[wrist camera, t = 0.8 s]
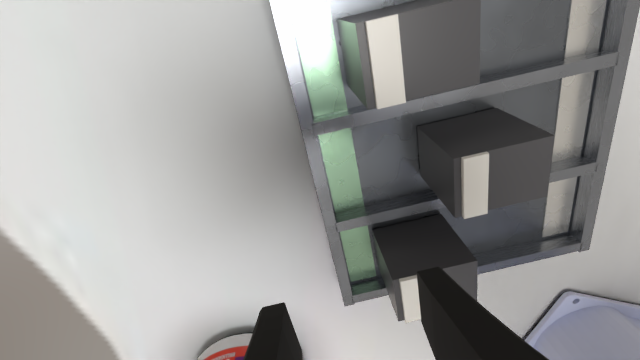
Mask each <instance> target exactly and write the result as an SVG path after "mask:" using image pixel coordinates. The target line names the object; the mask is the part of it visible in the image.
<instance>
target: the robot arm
mask: <svg viewBox="0 0 640 360" xmlns="http://www.w3.org/2000/svg"><path fill="white" fill-rule="evenodd" d="M417 282H418V292H419V302H420V312H421V322H422V325H423V327H424V330H425V333H426V335H427V338H428V341H429V343H430V346H431V348H432V351H433V354H434V356H435V359H436V360H640V306H639V305H635V304H630V303H625V302H620V301H615V300H610V299H605V298H600V297H596V296H591V295H586V294H581V293H576V292H571V291H568V292H565V293H563V294H562V295H561V297H560V298H559V299H558V300H557V301H556V303H555V304H554V305H553V306H552V307H551V309H550V310H549V311H548V312H547V314H546V315H545V316H544V317H543V318H542V320H541V321H540V322H539V323H538V325H537V326H536V327H535V328H534V329H533V331H532V332H531V333H530V334H529V336H528V337H527V338H526V339H525V340H523V339H522V338H520V337H519V336H518V335H516V334H515V333H514V332H513V331H512V330H510V329H509V328H508V327H507V326H505V325H504V324H503V323H502V322H501V321H499V320H498V319H497V318H496V317H495V316H493V315H492V314H491V313H490V312H489V311H487V310H486V309H485V308H484V307H483V306H482V305H481V304H479V303H478V302H477V301H476V300H475V299H474V298H473V297H472V296H470V295H469V294H468V293H467V292H466V291H465V290H464V289H463V288H462V287H461V286H460V285H458V284H457V283H456V282H455V281H454V280H453V279H452V278H451V277H450V276H449V275H448V274H447V273H446V272H445V271H444V270H443V269H442V268H440V267H434V268H430V269H426V270H421V271H417ZM243 360H303V358H302V350H301V347H300V344H299V342H298V339H297V336H296V333H295V330H294V328H293V325H292V322H291V319H290V317H289V314H288V311H287V308H286V306H285V303H279V304H275V305H271V306H267V307H263V308H262V309H261V311H260V313H259V316H258V319H257V322H256V325H255V328H254V331H253V334H252V337H251V340H250V342H249V345H248V348H247V350H246V353H245V356H244V358H243Z"/></svg>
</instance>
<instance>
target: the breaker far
mask: <svg viewBox="0 0 640 360" xmlns="http://www.w3.org/2000/svg"><path fill="white" fill-rule="evenodd" d="M372 233H373V239H374V245H375V250H376V256H377V262H378V268H379V270H380V273H381V276H382V278H383V281H384V284H385V286H386V289H387V292H388V294H389V297H390V300H391V302H392V305H393V308H394V310H395V313H396V316H397V318H398V321H402V320H405V323H409V322H413V321H418V320H421V312H420V302H419V292H418V282H417V271H421V270H426V269H430V268H434V267H440V268H442V269H443V270H444V271H445V272H446V273H447V274H448V275H449V276H450V277H451V278H452V279H453V280H454V281H455V282H456V283H457V284H458V285H460V286H461V287H462V288H463V289H464V290H465V291H466V292H467V293H468V294H469V295H470V296H472V297H473V298H474V299H475V300H476V301H477V259H476V258H475V257H474V256H473V254H472V253H471V252H470V250H469V249H468V248H467V246H466V245H465V244H464V243H463V241H462V240H461V239H460V237H459V236H458V235H457V233H456V232H455V231H454V230H453V228H452V227H451V226H450V224H449V223H448V222H447V220H446V219H445V218H444V217H443V215H442V214H438V215H434V216H429V217H425V218H421V219H417V220H412V221H408V222H404V223H399V224H395V225H391V226H386V227H382V228H378V229H374V230H372Z"/></svg>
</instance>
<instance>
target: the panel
mask: <svg viewBox="0 0 640 360" xmlns="http://www.w3.org/2000/svg"><path fill="white" fill-rule="evenodd" d="M269 1H270V5H271V9H272V13H273V17H274V21H275V25H276V29H277V33H278V37H279V41H280V46H281V50H282V54H283V58H284V62H285V66H286V70H287V74H288V78H289V82H290V86H291V90H292V94H293V98H294V102H295V106H296V111H297V115H298V119H299V123H300V127H301V131H302V135H303V139H304V143H305V147H306V151H307V155H308V159H309V163H310V167H311V171H312V176H313V180H314V184H315V188H316V192H317V196H318V200H319V204H320V208H321V212H322V216H323V220H324V224H325V228H326V232H327V236H328V241H329V245H330V249H331V253H332V257H333V261H334V265H335V269H336V273H337V277H338V281H339V285H340V289H341V293H342V297H343V301H344V305H345V306H348V305H353V304H354V303H356V302H360V301H365V300H369V299H373V298H378V297H382V296H386V295H389V294H388V292H387V289H386V286H385V284H384V281H383V278H382V276H381V273H380V270H379V268H378V262H377V256H376V250H375V245H374V239H373V233H372V230H374V229H378V228H382V227H386V226H391V225H395V224H399V223H404V222H408V221H412V220H417V219H421V218H425V217H429V216H434V215H438V214H442V215H443V217H444V218H445V219H446V220H447V222H448V223H449V224H450V226H451V227H452V228H453V230H454V231H455V232H456V233H457V235H458V236H459V237H460V239H461V240H462V241H463V243H464V244H465V245H466V246H467V248H468V249H469V250H470V252H471V253H472V254H473V256H474V257H475V258H476V259H477V274H481V273H485V272H490V271H494V270H498V269H503V268H507V267H511V266H515V265H520V264H524V263H528V262H533V261H537V260H541V259H546V258H550V257H554V256H559V255H563V254H567V253H571V252H576V251H579V252H581V251H585V250H589V247H590V242H591V238H592V233H593V228H594V223H595V218H596V214H597V209H598V204H599V199H600V194H601V190H602V185H603V180H604V175H605V171H606V166H607V161H608V156H609V151H610V147H611V142H612V137H613V132H614V127H615V123H616V118H617V113H618V108H619V103H620V99H621V94H622V89H623V84H624V80H625V75H626V70H627V65H628V60H629V56H630V51H631V46H632V41H633V36H634V32H635V27H636V22H637V17H638V13H639V8H640V0H481V17H480V84H476V85H471V86H467V87H463V88H459V89H454V90H450V91H446V92H442V93H437V94H433V95H429V96H425V97H420V98H416V99H412V100H408V101H406V103H403V104H399V105H394V106H390V107H386V108H381V109H377V108H373V109H369V110H368V109H367V108H366V107H365V106H364V105H363V103H362V102H361V101H360V100H359V99H358V97H357V96H356V95H355V94H354V93H353V91H352V90H351V89H350V88H349V87H348V84H347V78H346V72H345V66H344V60H343V54H342V48H341V42H340V36H339V30H338V24H337V19H339V18H343V17H347V16H352V15H356V14H360V13H364V12H369V11H373V10H377V9H381V8H386V7H390V6H394V5H398V4H403V3H407V2H411V1H415V0H269ZM494 108H498V109H500V110H502V111H505V112H507V113H509V114H511V115H513V116H515V117H517V118H519V119H521V120H524V121H526V122H528V123H530V124H532V125H534V126H536V127H538V128H540V129H543V130H545V131H547V132H549V133H551V134H553V135H555V139H554V147H553V155H552V163H551V171H550V179H549V187H548V195H547V197H543V198H539V199H535V200H530V201H526V202H522V203H517V204H513V205H509V206H505V207H500V208H496V209H492V210H488V214H484V215H479V216H475V217H471V218H466V219H464V218H463V217H457V218H455V217H454V216H453V215H452V214H451V213H450V211H449V210H448V209H447V208H446V206H445V205H444V204H443V203H442V202H441V200H440V199H439V198H438V197H437V195H436V194H435V193H434V192H433V191H432V189H431V188H430V187H429V186H428V184H427V183H426V182H425V181H424V180H423V178H422V177H421V173H420V161H419V148H418V135H417V126H421V125H425V124H430V123H434V122H438V121H442V120H447V119H451V118H455V117H460V116H464V115H468V114H472V113H477V112H481V111H485V110H489V109H494Z"/></svg>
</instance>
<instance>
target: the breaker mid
mask: <svg viewBox="0 0 640 360" xmlns="http://www.w3.org/2000/svg"><path fill="white" fill-rule="evenodd" d="M417 135H418V148H419V161H420V173H421V177H422V178H423V180H424V181H425V182H426V183H427V184H428V186H429V187H430V188H431V189H432V191H433V192H434V193H435V194H436V195H437V197H438V198H439V199H440V200H441V202H442V203H443V204H444V205H445V206H446V208H447V209H448V210H449V211H450V213H451V214H452V215H453V216H454V217H455V218H457V217H463V218H464V219H466V218H471V217H475V216H479V215H484V214H488V210H492V209H496V208H500V207H505V206H509V205H513V204H517V203H522V202H526V201H530V200H535V199H539V198H543V197H547V195H548V187H549V179H550V171H551V163H552V155H553V147H554V139H555V135H553V134H551V133H549V132H547V131H545V130H543V129H540V128H538V127H536V126H534V125H532V124H530V123H528V122H526V121H524V120H521V119H519V118H517V117H515V116H513V115H511V114H509V113H507V112H505V111H502V110H500V109H498V108H494V109H489V110H485V111H481V112H477V113H472V114H468V115H464V116H460V117H455V118H451V119H447V120H442V121H438V122H434V123H430V124H425V125H421V126H417Z"/></svg>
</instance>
